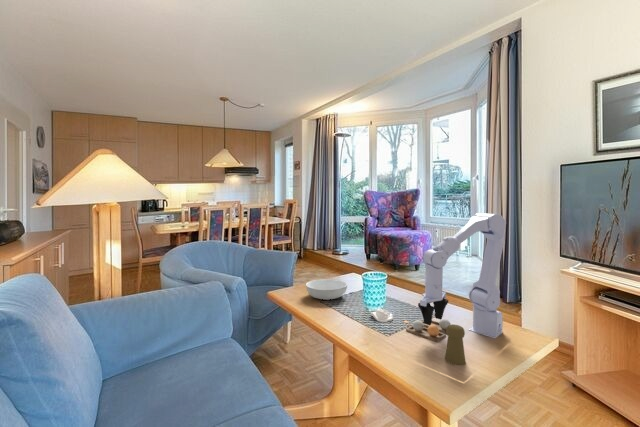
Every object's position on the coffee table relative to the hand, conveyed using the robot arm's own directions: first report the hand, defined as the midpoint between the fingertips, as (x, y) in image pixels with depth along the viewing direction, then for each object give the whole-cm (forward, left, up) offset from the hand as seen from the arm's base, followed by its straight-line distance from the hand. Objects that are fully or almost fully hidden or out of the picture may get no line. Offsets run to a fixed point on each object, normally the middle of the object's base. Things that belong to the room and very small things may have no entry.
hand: (433, 321), depth 115 cm
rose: (+24, -1, -6) cm, 24 cm away
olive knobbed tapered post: (-13, +10, -6) cm, 18 cm away
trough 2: (+3, -9, -6) cm, 11 cm away
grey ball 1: (+6, 0, -5) cm, 8 cm away
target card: (+12, -4, -6) cm, 14 cm away
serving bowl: (+60, -4, -6) cm, 60 cm away
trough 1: (+3, 0, -6) cm, 7 cm away
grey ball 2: (0, -9, -5) cm, 10 cm away
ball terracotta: (0, 0, -5) cm, 5 cm away
